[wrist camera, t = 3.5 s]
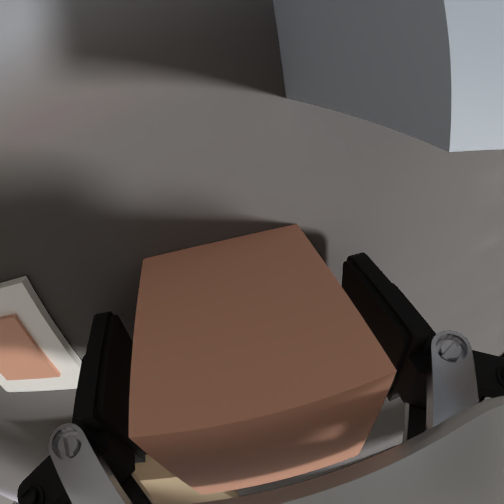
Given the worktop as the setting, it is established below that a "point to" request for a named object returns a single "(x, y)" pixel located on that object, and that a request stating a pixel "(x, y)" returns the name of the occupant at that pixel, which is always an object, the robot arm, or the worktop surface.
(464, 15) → the slate block
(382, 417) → the worktop surface
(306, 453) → the terracotta block
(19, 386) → the tile
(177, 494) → the oak plinth
